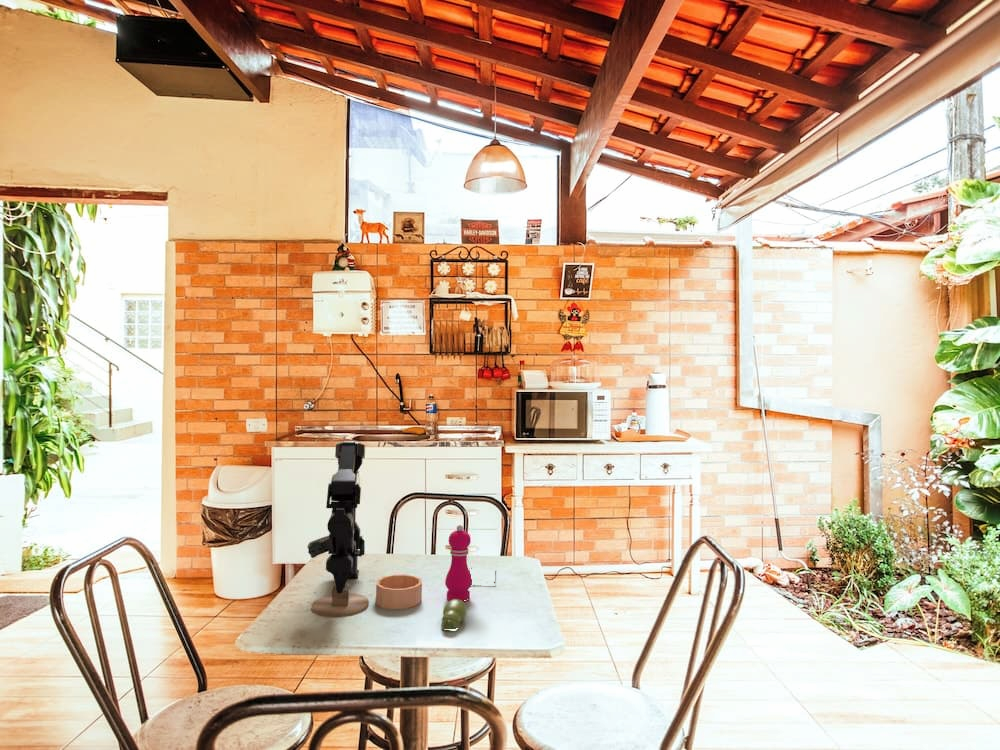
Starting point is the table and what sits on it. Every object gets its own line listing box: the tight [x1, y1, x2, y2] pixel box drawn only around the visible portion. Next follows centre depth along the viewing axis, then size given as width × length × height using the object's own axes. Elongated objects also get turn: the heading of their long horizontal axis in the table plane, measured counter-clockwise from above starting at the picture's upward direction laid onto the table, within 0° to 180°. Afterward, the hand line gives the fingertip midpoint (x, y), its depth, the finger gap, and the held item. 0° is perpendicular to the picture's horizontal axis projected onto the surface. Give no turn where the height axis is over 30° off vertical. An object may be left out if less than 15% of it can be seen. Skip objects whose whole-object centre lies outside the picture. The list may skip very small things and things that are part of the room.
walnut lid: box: [311, 584, 370, 618], centre depth 157 cm, size 14×14×5 cm
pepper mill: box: [444, 524, 472, 602], centre depth 164 cm, size 7×7×20 cm
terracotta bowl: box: [375, 573, 423, 610], centre depth 162 cm, size 12×12×5 cm
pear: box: [440, 599, 468, 629], centre depth 147 cm, size 6×5×10 cm
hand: (341, 586), depth 157 cm, fingers open, 9 cm apart
